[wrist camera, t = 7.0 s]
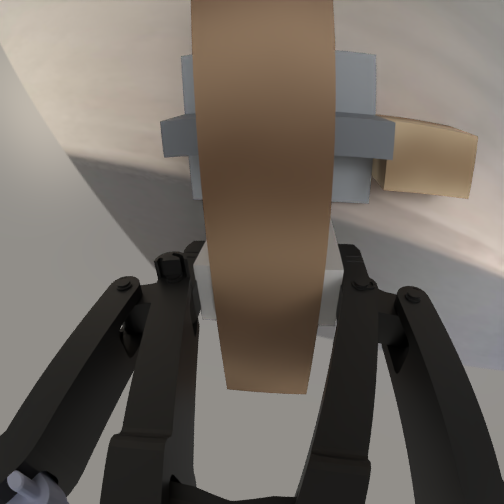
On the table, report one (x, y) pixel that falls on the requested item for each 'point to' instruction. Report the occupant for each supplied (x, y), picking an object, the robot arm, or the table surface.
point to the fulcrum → (346, 128)
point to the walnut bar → (266, 179)
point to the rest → (428, 159)
